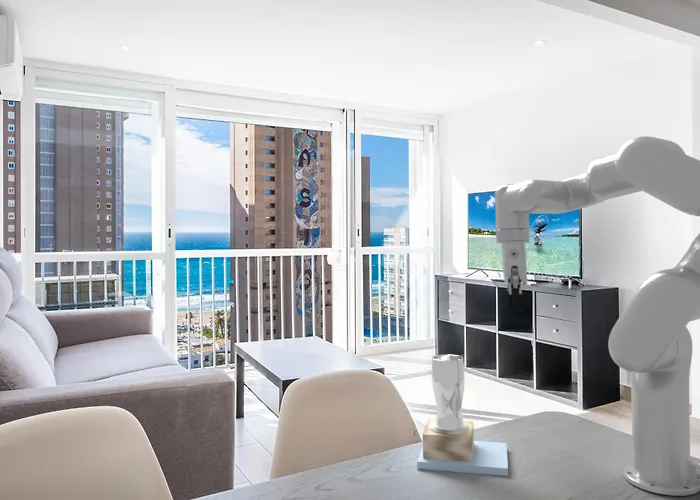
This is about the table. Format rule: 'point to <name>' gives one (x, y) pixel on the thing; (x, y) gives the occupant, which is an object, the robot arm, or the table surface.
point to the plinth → (448, 442)
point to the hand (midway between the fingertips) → (514, 309)
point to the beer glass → (448, 391)
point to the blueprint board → (473, 460)
